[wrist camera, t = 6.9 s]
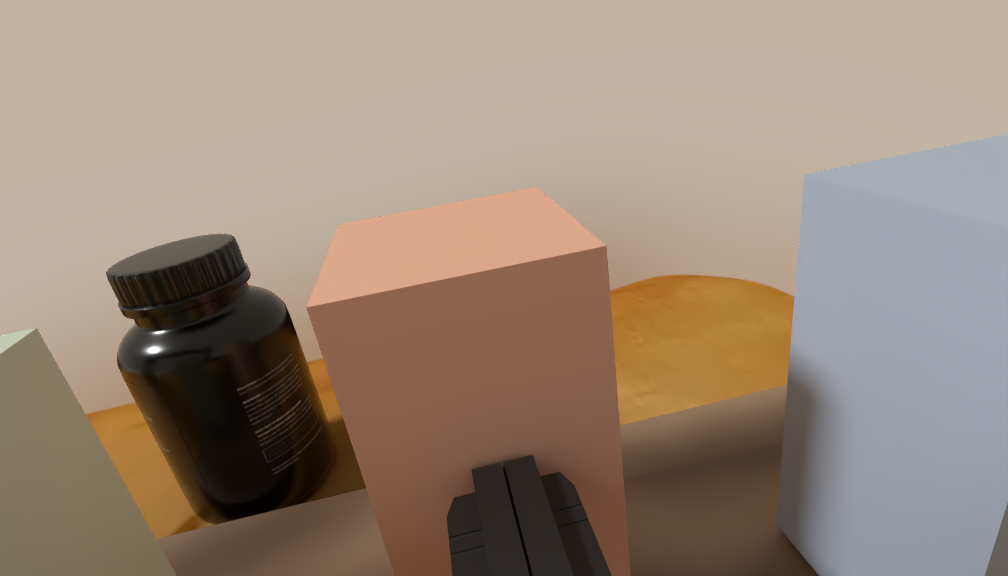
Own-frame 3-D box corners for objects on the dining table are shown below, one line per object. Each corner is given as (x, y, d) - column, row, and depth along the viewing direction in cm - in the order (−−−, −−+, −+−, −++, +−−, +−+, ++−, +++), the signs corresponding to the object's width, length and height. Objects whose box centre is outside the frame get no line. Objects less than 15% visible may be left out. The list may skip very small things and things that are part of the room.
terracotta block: (634, 629, 16) (606, 245, 11) (432, 688, 15) (306, 307, 10) (573, 484, 21) (536, 186, 16) (423, 522, 20) (339, 224, 16)
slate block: (1152, 649, 13) (1409, 173, 8) (939, 720, 13) (1087, 247, 8) (932, 481, 19) (1013, 133, 14) (776, 523, 18) (804, 174, 13)
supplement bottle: (321, 415, 31) (253, 215, 26) (354, 484, 25) (276, 245, 20) (189, 470, 28) (86, 256, 23) (194, 561, 22) (59, 304, 17)
